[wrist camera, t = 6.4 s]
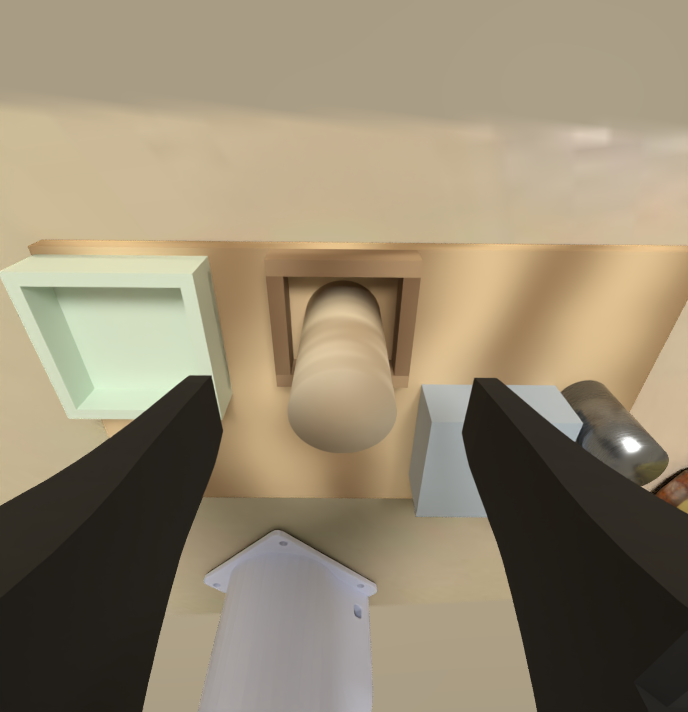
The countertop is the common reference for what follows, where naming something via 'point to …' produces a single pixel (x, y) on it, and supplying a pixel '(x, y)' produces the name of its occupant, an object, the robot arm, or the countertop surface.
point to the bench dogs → (614, 433)
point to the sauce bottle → (676, 492)
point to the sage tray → (120, 328)
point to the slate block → (446, 447)
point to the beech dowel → (342, 372)
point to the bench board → (416, 337)
